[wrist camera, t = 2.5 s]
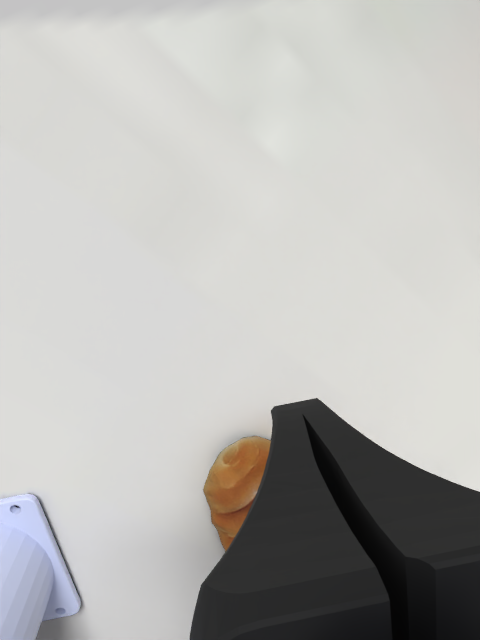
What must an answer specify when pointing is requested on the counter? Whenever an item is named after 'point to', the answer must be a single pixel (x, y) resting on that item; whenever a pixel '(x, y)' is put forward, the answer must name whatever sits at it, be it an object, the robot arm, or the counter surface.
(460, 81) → the counter surface
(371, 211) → the counter surface
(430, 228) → the counter surface
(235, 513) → the pastry
